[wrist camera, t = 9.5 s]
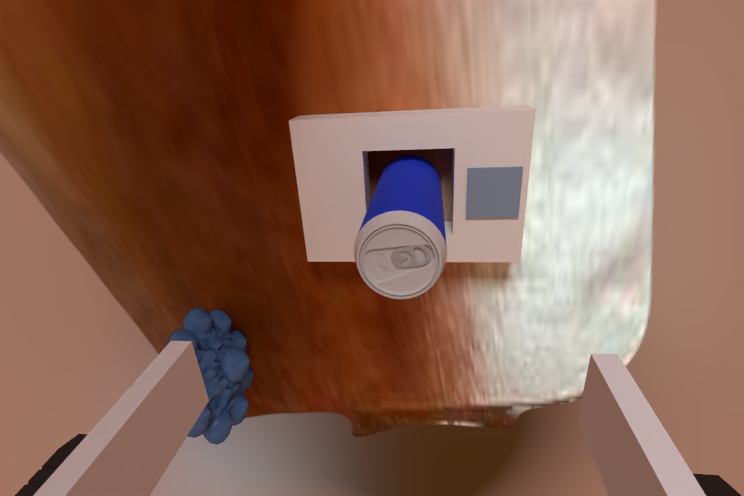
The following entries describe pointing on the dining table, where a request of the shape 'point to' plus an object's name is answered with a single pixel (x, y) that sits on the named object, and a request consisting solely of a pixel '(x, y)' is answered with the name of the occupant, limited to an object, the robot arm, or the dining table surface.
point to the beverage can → (403, 231)
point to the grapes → (218, 371)
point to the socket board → (410, 132)
